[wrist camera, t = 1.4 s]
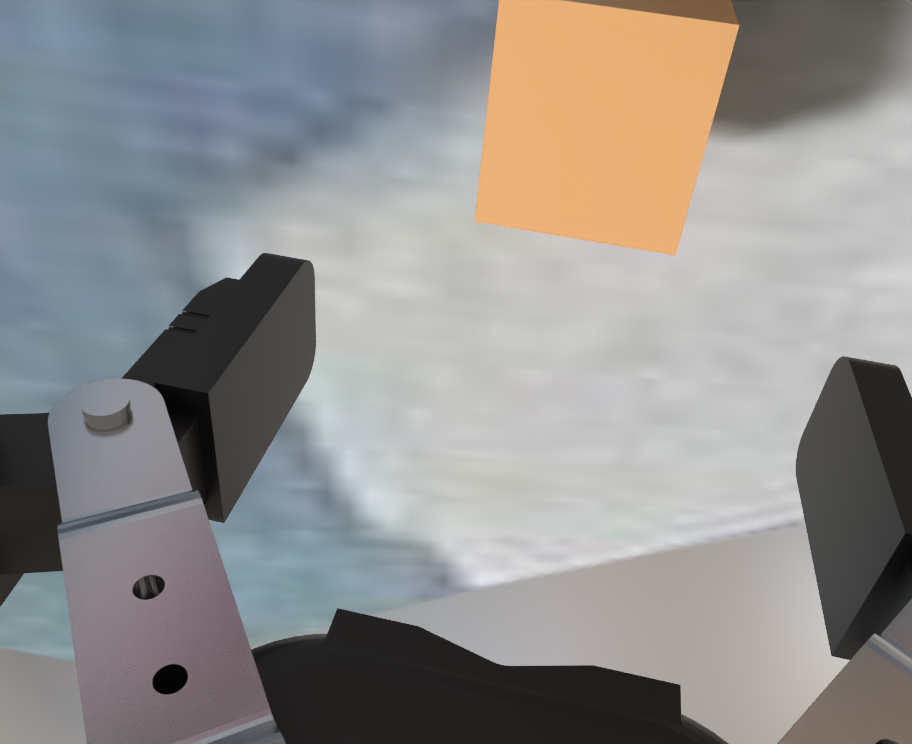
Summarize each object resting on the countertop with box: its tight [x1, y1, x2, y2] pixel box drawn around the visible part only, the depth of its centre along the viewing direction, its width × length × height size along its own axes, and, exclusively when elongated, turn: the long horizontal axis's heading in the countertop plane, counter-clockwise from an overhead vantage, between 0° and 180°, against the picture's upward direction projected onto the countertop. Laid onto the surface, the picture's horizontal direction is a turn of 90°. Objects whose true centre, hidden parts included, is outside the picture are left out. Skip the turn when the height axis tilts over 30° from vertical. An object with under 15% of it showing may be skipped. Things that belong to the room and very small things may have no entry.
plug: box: [475, 0, 739, 255], centre depth 24 cm, size 6×6×8 cm
